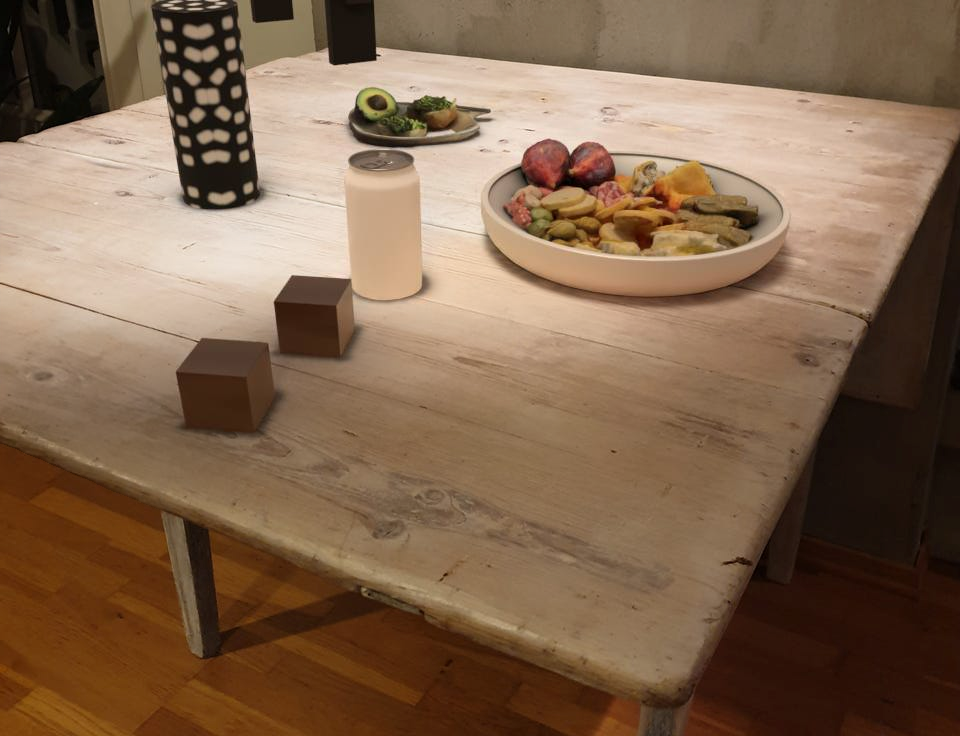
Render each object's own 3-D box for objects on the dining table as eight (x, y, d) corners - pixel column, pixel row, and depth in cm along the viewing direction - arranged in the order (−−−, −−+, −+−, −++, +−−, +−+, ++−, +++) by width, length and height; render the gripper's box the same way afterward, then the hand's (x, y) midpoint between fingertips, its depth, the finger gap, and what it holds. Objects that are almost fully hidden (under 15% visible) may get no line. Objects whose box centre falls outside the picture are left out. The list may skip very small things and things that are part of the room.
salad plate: (477, 107, 139) (477, 74, 137) (508, 144, 125) (509, 107, 122) (343, 114, 136) (340, 80, 133) (359, 153, 121) (357, 116, 119)
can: (437, 289, 89) (435, 159, 82) (383, 311, 85) (376, 176, 78) (390, 268, 93) (385, 142, 86) (337, 288, 89) (327, 158, 82)
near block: (211, 396, 73) (201, 337, 70) (275, 401, 72) (268, 342, 70) (186, 432, 69) (175, 371, 66) (254, 438, 68) (246, 376, 65)
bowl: (838, 248, 98) (856, 172, 93) (657, 345, 80) (669, 257, 76) (608, 175, 115) (614, 108, 111) (419, 242, 98) (417, 165, 93)
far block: (297, 329, 82) (291, 274, 79) (355, 333, 81) (351, 278, 79) (280, 357, 78) (273, 301, 75) (340, 362, 77) (336, 305, 75)
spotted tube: (225, 218, 103) (196, 15, 91) (167, 203, 106) (132, 6, 95) (275, 195, 109) (254, 2, 97) (219, 182, 112) (193, -6, 101)
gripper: (454, -431, 42) (455, 75, 54) (262, -369, 60) (295, 2, 72) (290, -451, 39) (330, 91, 51) (139, -379, 57) (195, 10, 69)
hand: (310, 40), depth 62 cm, fingers open, 13 cm apart
